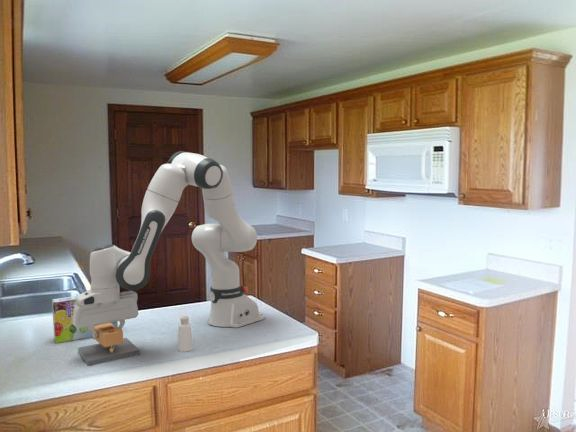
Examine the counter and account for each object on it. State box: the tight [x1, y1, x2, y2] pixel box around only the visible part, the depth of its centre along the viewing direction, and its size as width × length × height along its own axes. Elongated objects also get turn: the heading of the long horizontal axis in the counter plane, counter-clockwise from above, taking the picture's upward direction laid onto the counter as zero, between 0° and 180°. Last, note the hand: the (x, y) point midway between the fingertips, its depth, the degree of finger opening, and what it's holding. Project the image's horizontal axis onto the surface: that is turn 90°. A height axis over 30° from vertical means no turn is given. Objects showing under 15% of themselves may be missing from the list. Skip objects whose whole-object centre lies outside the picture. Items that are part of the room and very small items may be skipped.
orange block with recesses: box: [92, 323, 124, 347], centre depth 161 cm, size 12×6×4 cm, turn 39°
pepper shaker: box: [176, 315, 194, 353], centre depth 164 cm, size 5×5×11 cm
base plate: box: [77, 337, 140, 366], centre depth 162 cm, size 16×14×2 cm
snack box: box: [51, 295, 119, 344], centre depth 178 cm, size 21×6×15 cm, turn 119°
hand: (107, 335), depth 161 cm, fingers closed on orange block with recesses, 6 cm apart
